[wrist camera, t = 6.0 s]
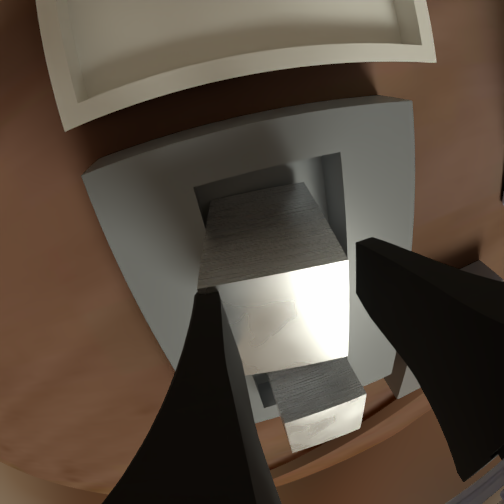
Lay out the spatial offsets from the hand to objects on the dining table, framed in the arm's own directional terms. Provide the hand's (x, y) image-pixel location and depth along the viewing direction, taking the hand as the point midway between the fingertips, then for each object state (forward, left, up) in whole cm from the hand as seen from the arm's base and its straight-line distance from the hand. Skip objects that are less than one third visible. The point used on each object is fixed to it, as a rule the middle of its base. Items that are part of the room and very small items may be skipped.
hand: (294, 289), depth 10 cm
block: (-1, +9, -6) cm, 11 cm away
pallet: (-1, +5, -6) cm, 8 cm away
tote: (-2, -11, -6) cm, 13 cm away
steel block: (0, +1, -5) cm, 5 cm away
